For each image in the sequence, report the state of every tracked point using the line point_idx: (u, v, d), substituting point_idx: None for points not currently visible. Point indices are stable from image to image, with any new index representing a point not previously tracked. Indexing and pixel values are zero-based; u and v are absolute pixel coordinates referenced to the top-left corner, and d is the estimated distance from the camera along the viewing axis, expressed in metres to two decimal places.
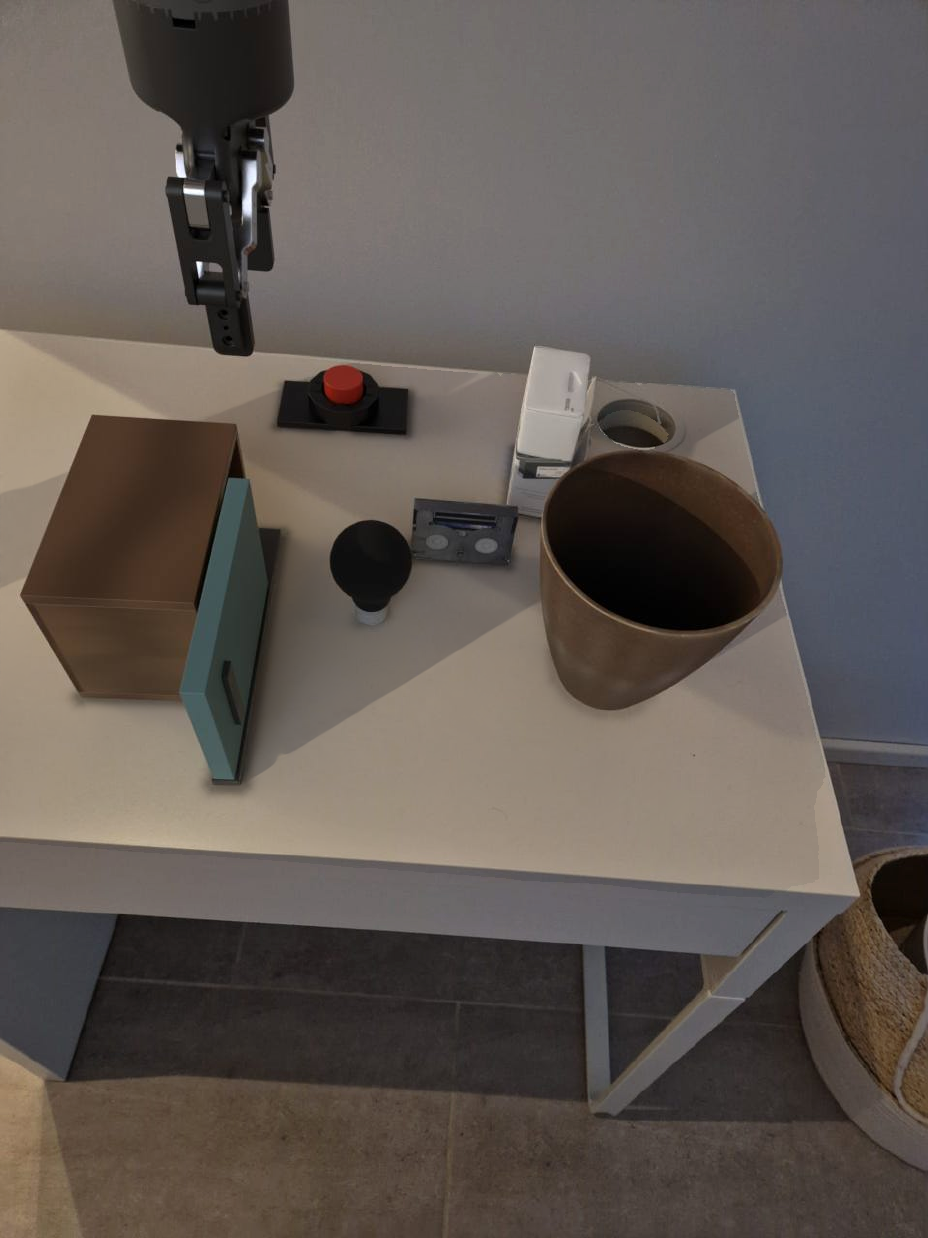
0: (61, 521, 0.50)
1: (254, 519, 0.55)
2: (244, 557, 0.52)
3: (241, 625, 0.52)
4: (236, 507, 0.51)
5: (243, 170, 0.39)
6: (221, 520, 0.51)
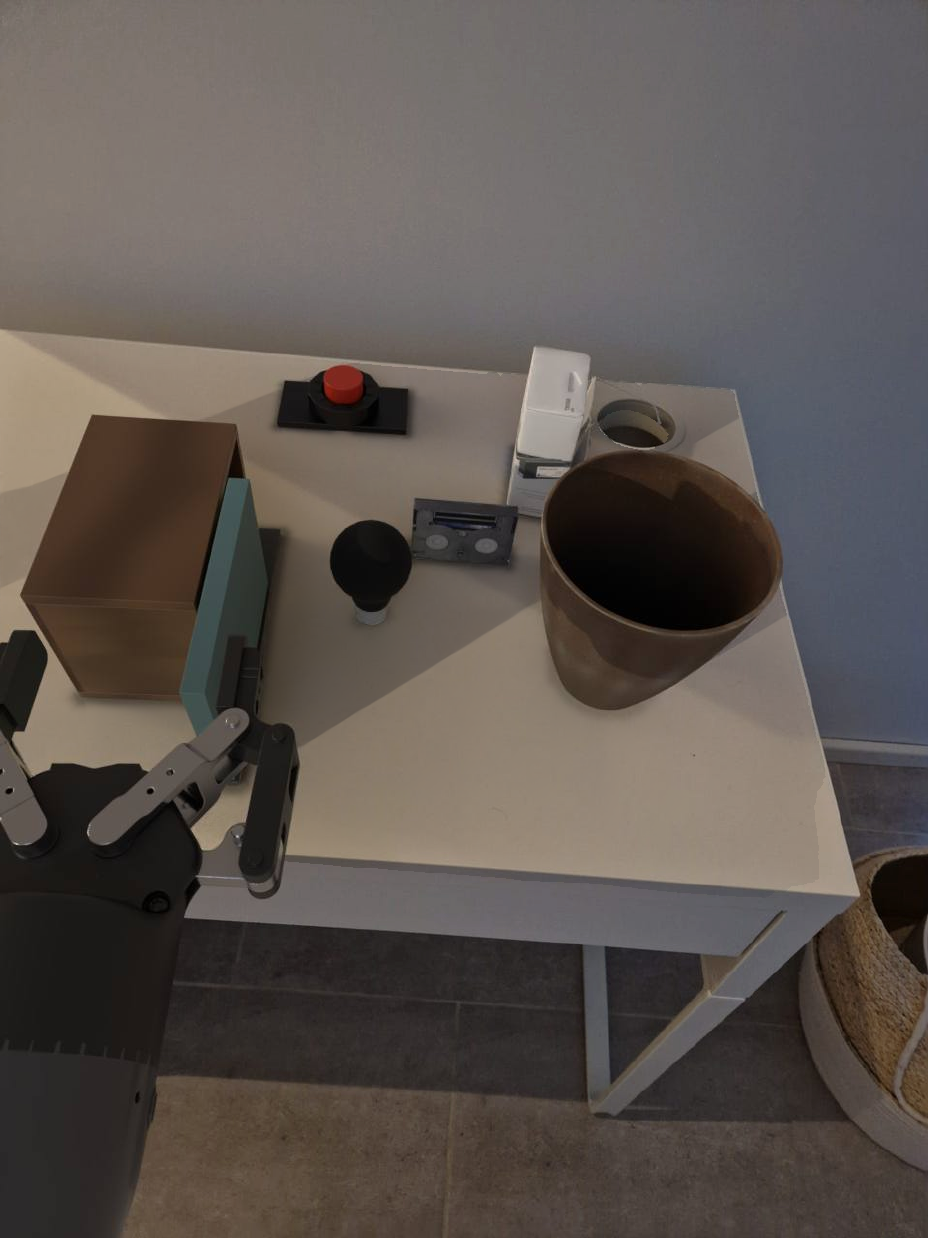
0: (61, 521, 0.50)
1: (254, 519, 0.55)
2: (244, 557, 0.52)
3: (241, 625, 0.52)
4: (236, 507, 0.51)
5: None
6: (221, 520, 0.51)
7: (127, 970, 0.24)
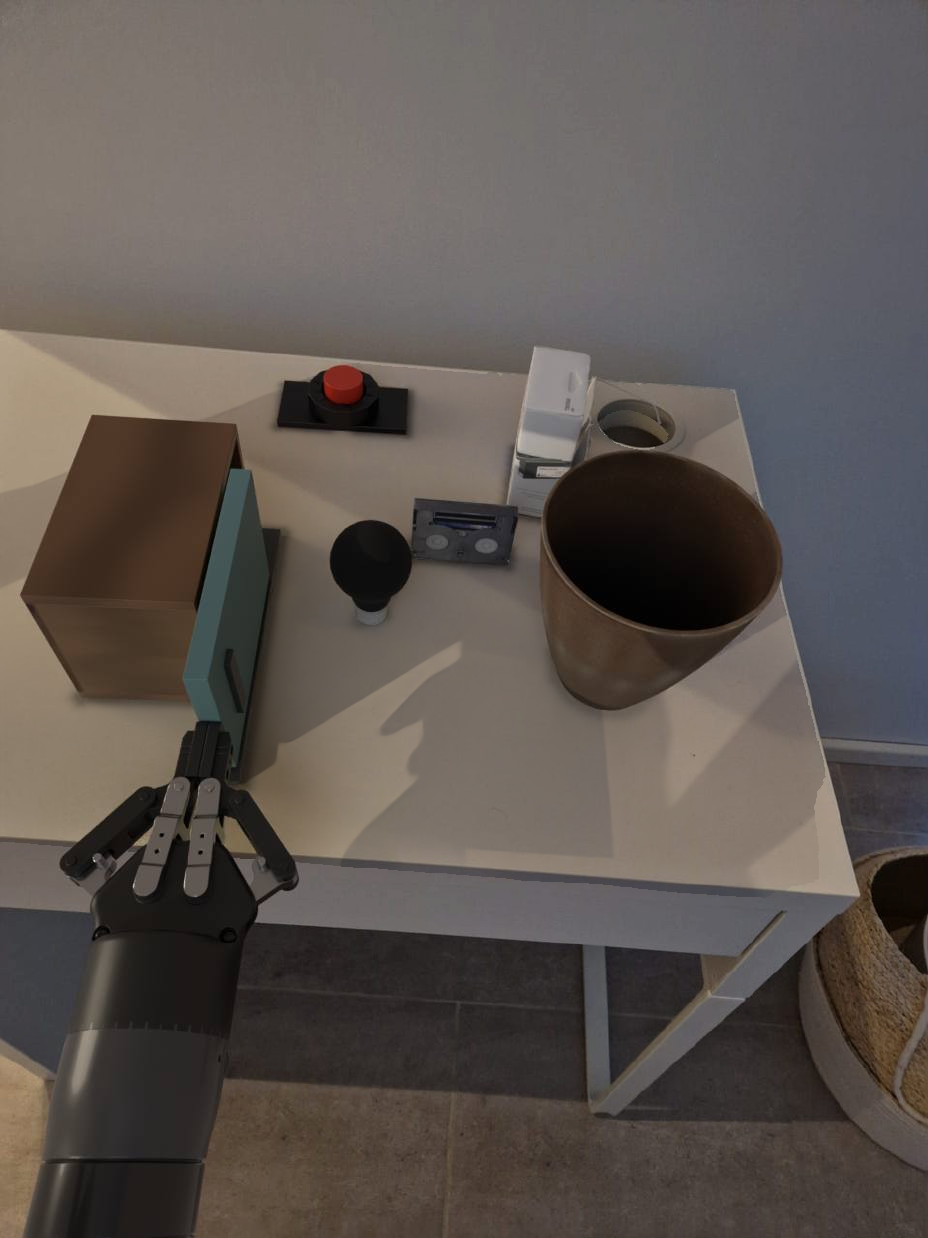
0: (61, 521, 0.50)
1: (256, 510, 0.56)
2: (246, 547, 0.53)
3: (243, 614, 0.53)
4: (238, 497, 0.52)
5: None
6: (223, 510, 0.51)
7: (213, 980, 0.38)
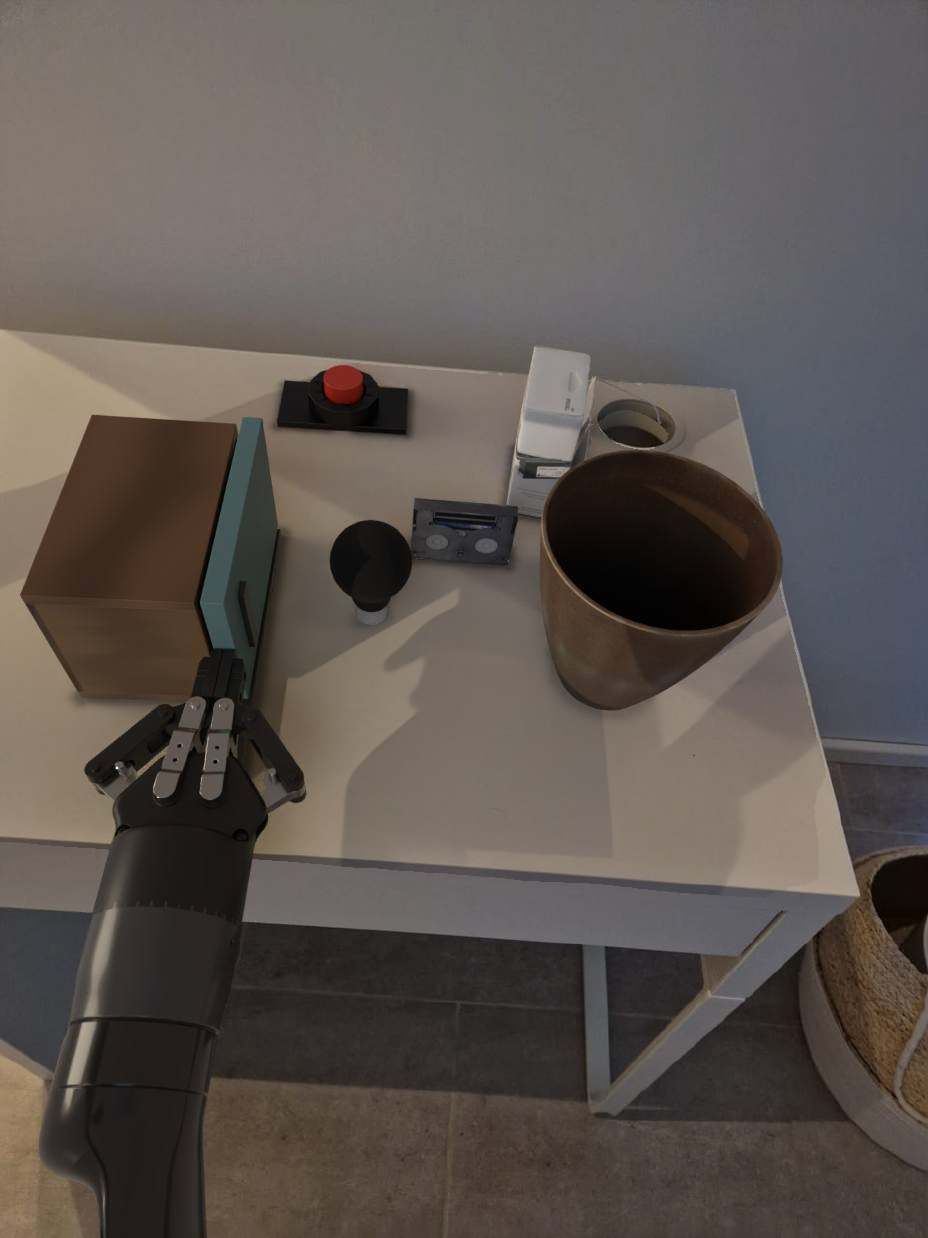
0: (61, 521, 0.50)
1: (266, 458, 0.59)
2: (257, 490, 0.56)
3: (254, 554, 0.56)
4: (250, 442, 0.55)
5: None
6: (236, 454, 0.54)
7: (226, 871, 0.41)
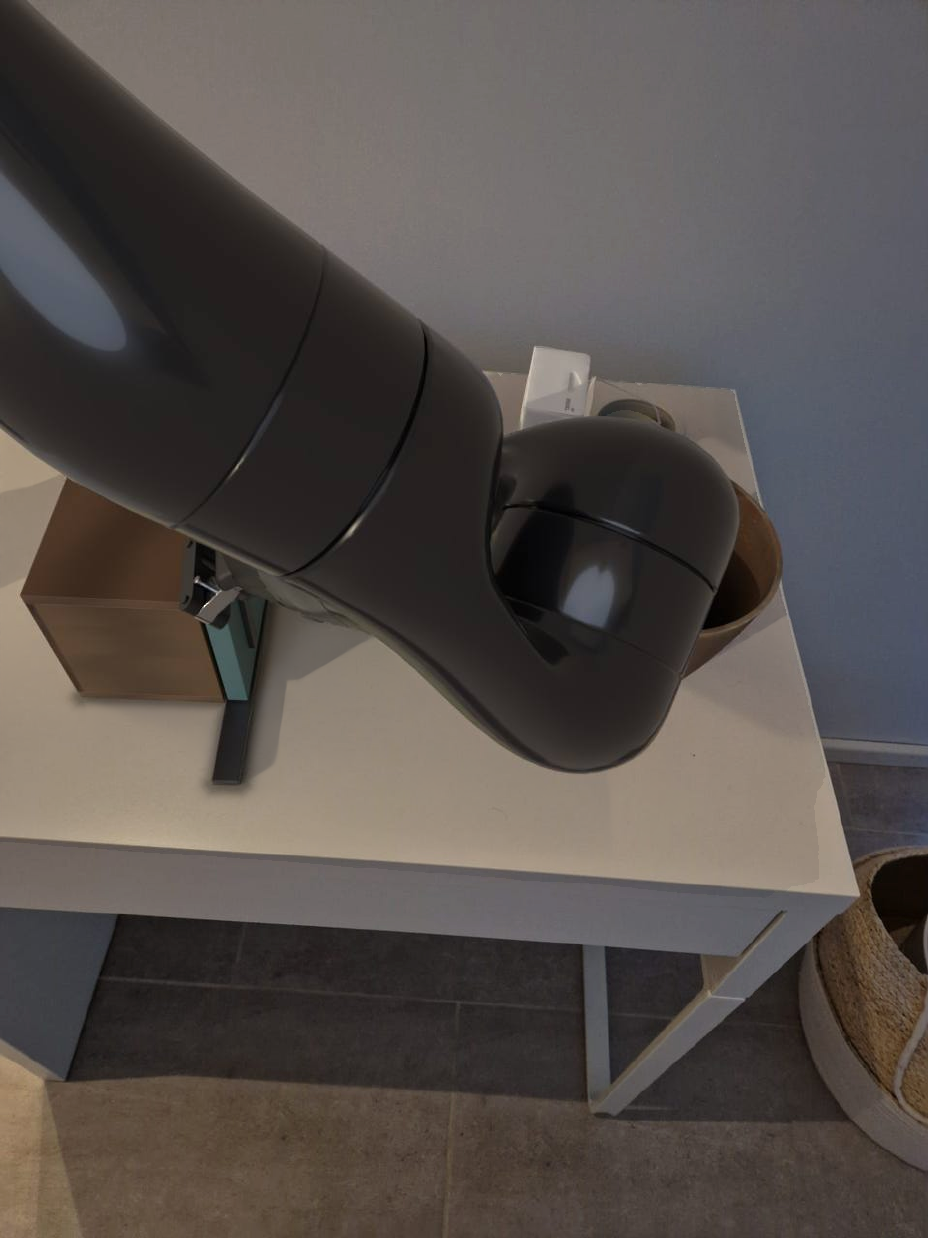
0: (61, 521, 0.50)
1: None
2: None
3: None
4: None
5: None
6: None
7: None
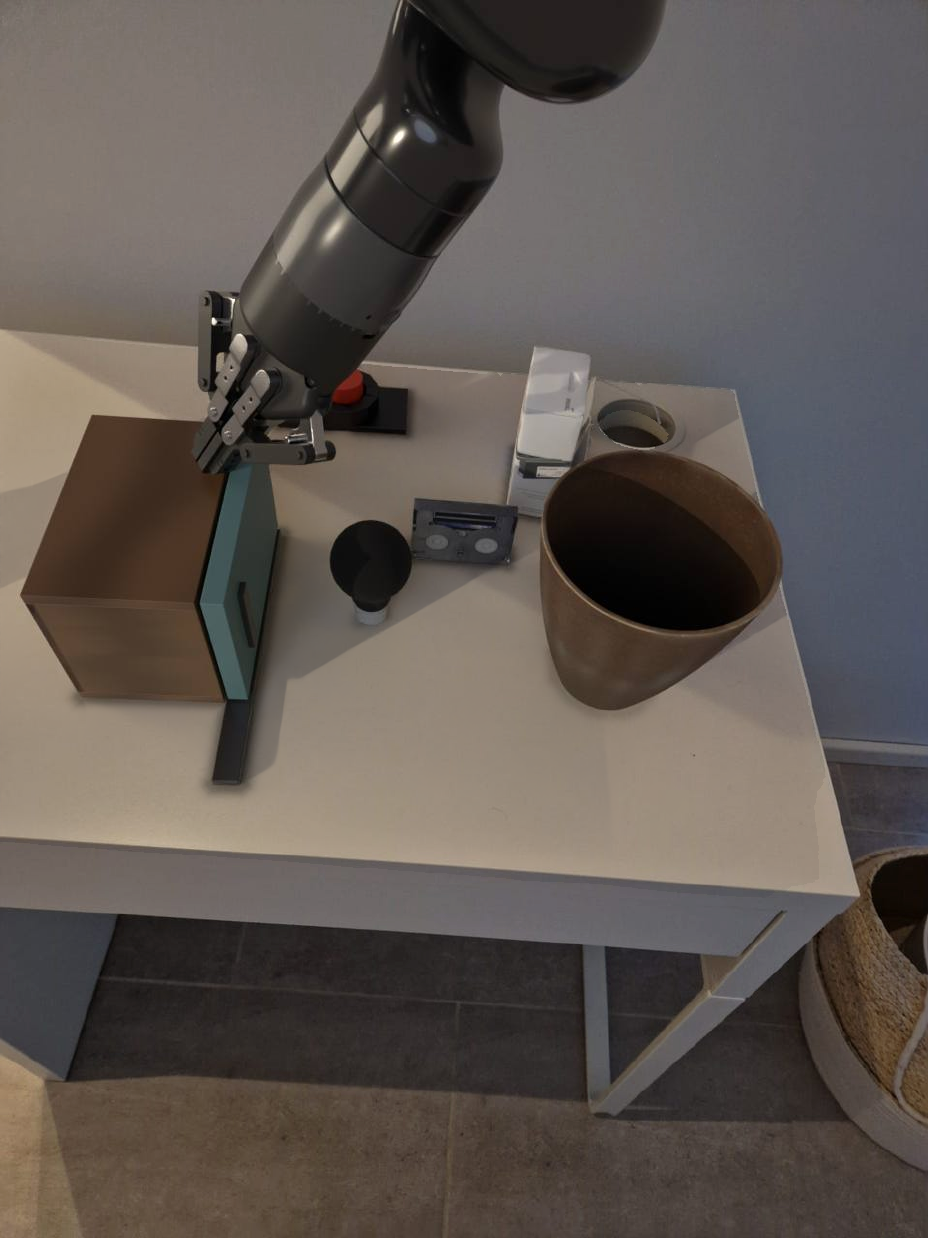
0: (61, 521, 0.50)
1: None
2: (257, 491, 0.56)
3: (254, 555, 0.56)
4: None
5: None
6: None
7: None
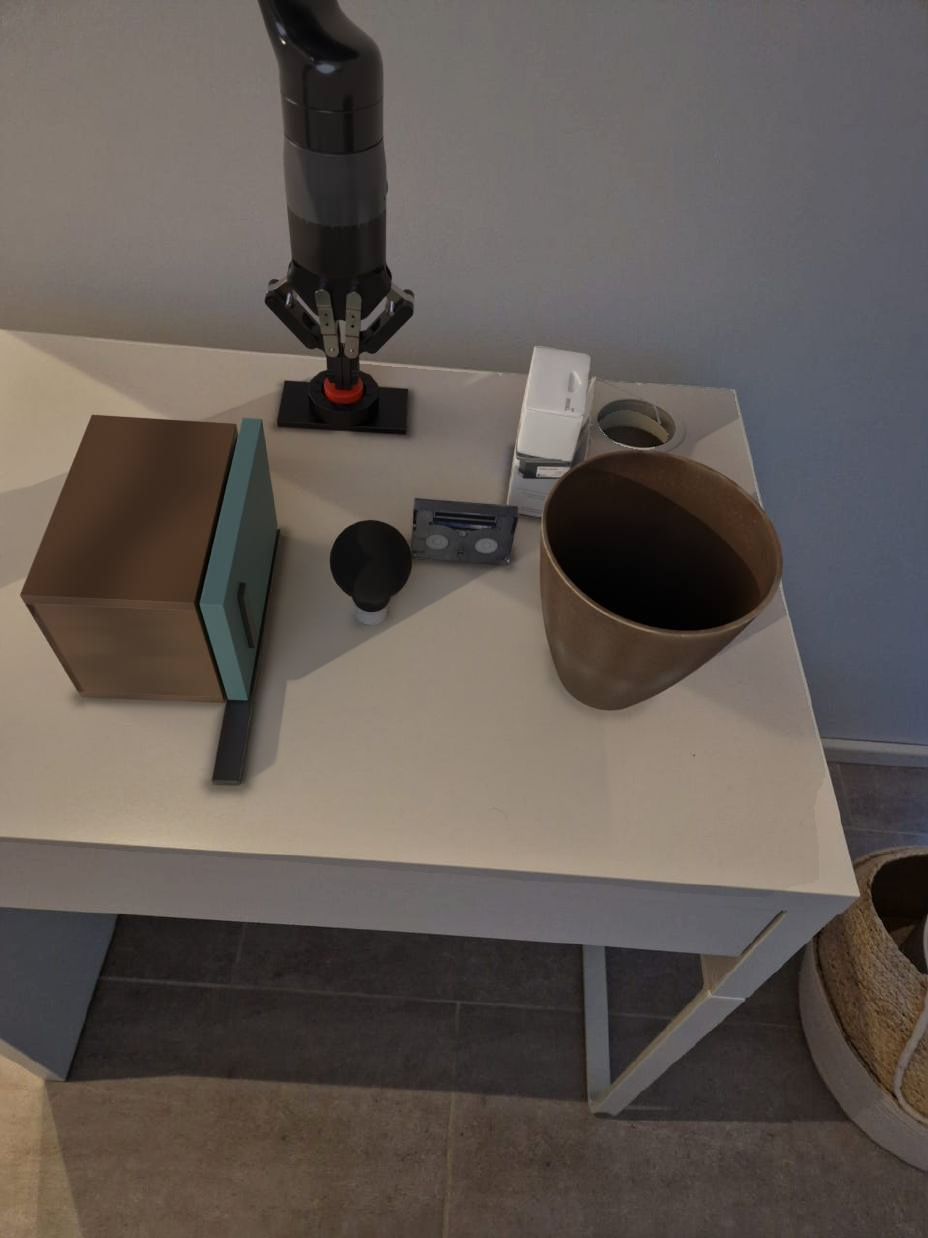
0: (61, 521, 0.50)
1: (266, 459, 0.59)
2: (257, 492, 0.56)
3: (254, 555, 0.56)
4: (249, 443, 0.55)
5: None
6: (236, 455, 0.54)
7: (295, 242, 0.60)
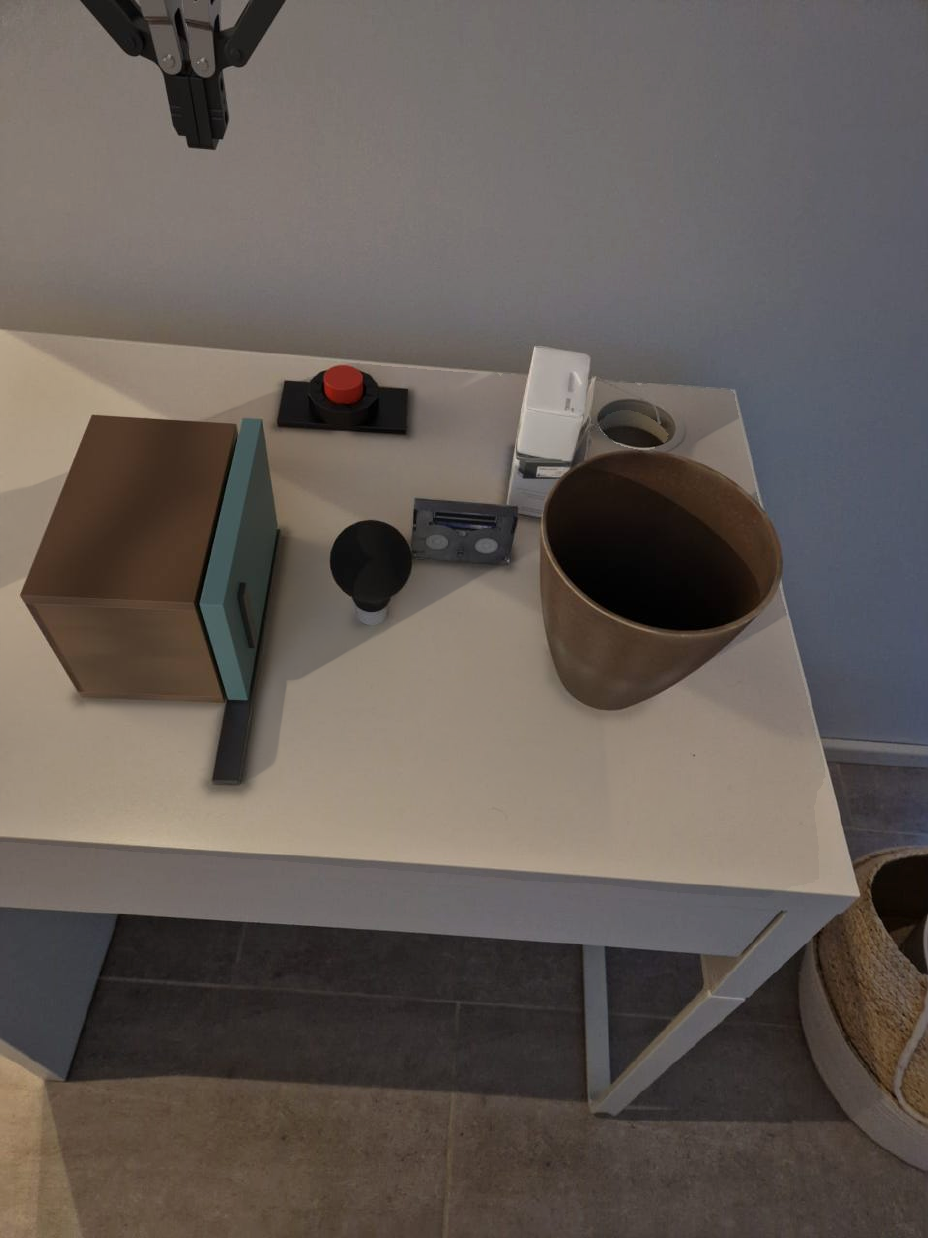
0: (61, 521, 0.50)
1: (266, 459, 0.59)
2: (257, 492, 0.56)
3: (254, 555, 0.56)
4: (249, 443, 0.55)
5: None
6: (236, 455, 0.54)
7: None
